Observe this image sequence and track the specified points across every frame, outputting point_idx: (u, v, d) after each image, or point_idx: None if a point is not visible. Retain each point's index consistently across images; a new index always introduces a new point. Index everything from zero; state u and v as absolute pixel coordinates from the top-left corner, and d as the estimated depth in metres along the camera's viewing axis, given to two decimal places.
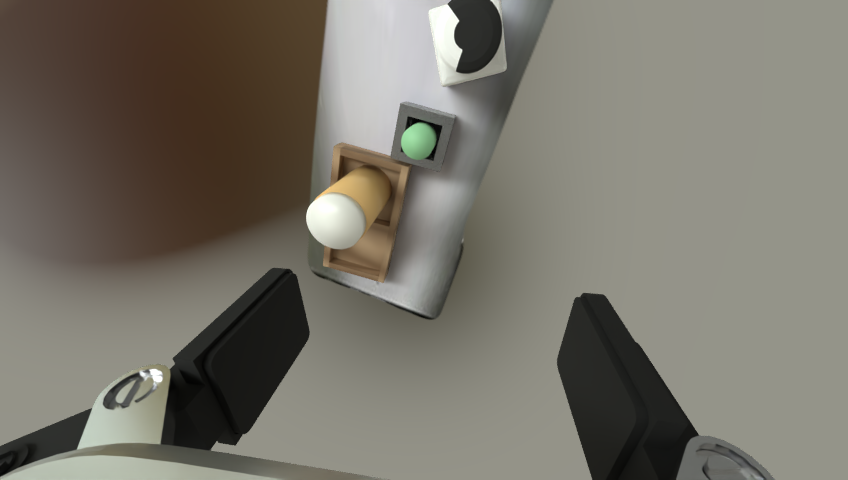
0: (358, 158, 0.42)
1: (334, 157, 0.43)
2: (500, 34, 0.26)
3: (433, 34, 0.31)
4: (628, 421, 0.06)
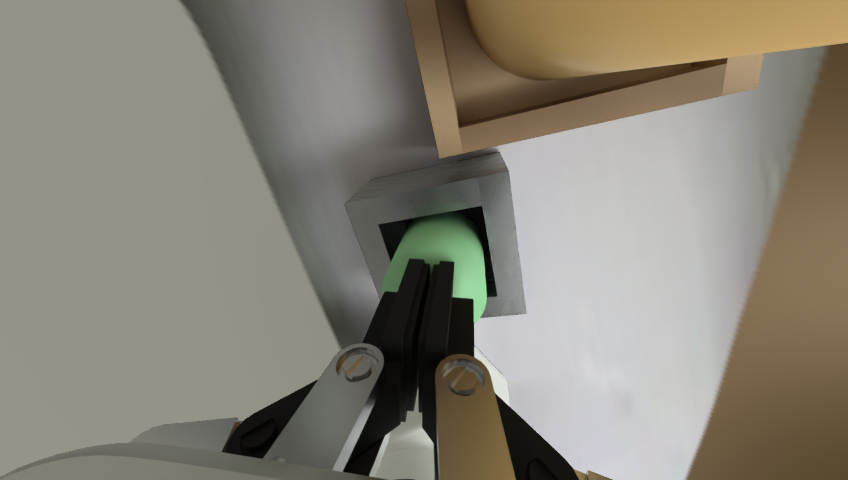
0: (634, 93, 0.11)
1: None
2: None
3: None
4: None
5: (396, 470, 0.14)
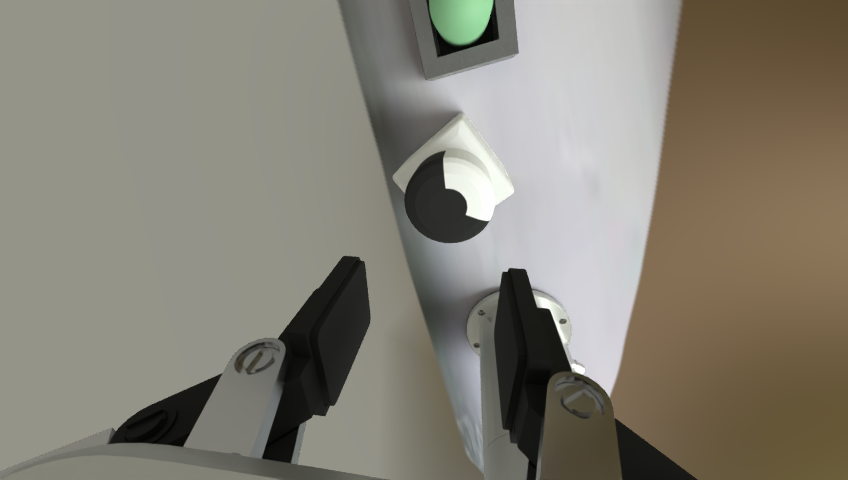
0: None
1: None
2: (411, 220, 0.21)
3: (498, 172, 0.23)
4: (515, 364, 0.07)
5: (433, 153, 0.21)
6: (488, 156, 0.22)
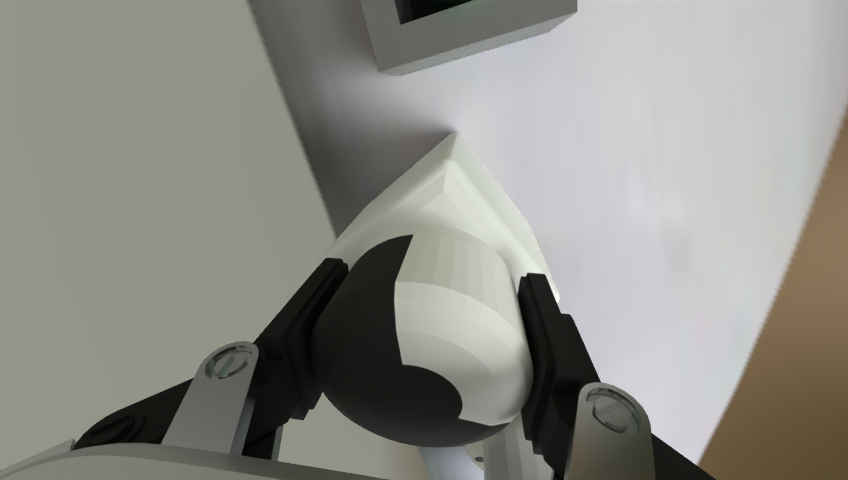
0: None
1: None
2: (330, 400, 0.09)
3: (529, 265, 0.11)
4: (541, 374, 0.07)
5: (387, 236, 0.10)
6: (509, 235, 0.10)
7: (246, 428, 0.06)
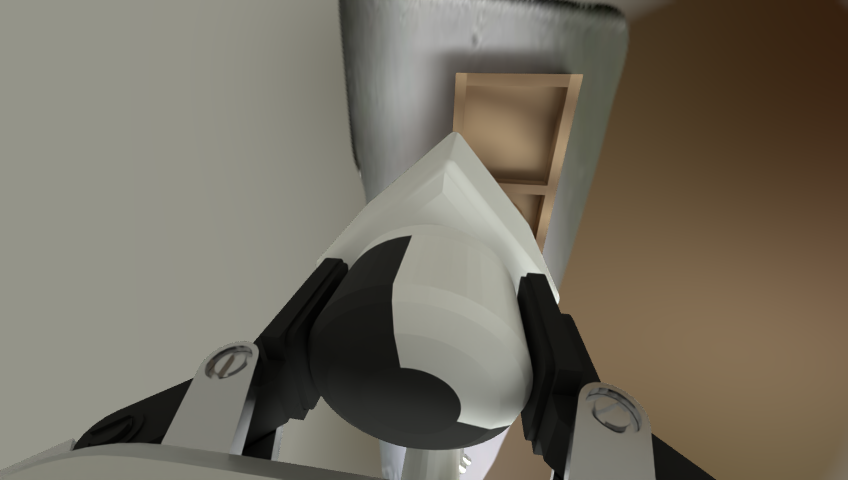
0: None
1: None
2: (328, 402, 0.09)
3: (529, 266, 0.11)
4: (541, 374, 0.07)
5: (385, 237, 0.09)
6: (508, 236, 0.10)
7: (246, 428, 0.06)
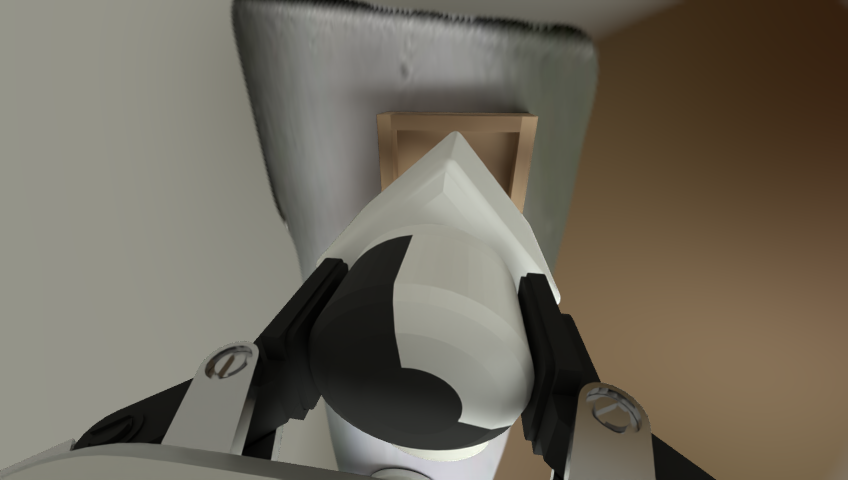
0: None
1: None
2: (329, 402, 0.09)
3: (530, 266, 0.11)
4: (541, 374, 0.07)
5: (386, 236, 0.09)
6: (509, 235, 0.10)
7: (246, 428, 0.06)
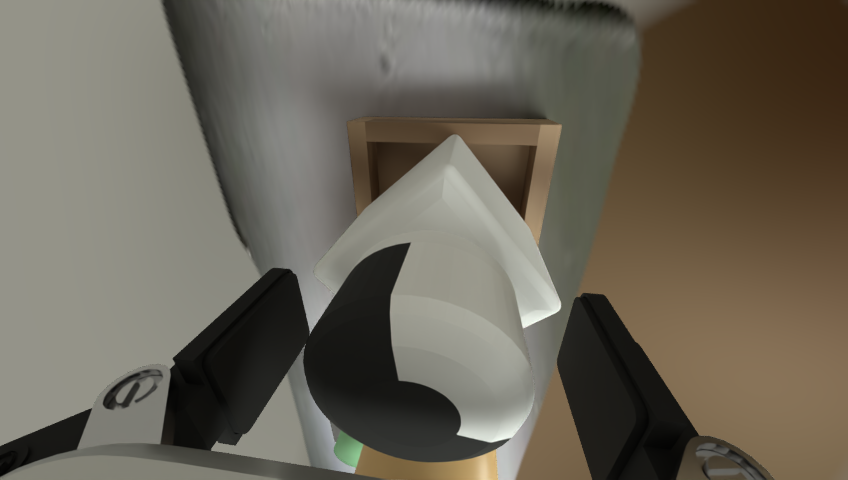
0: None
1: None
2: (325, 413, 0.09)
3: (530, 272, 0.10)
4: (628, 421, 0.06)
5: (383, 243, 0.09)
6: (509, 242, 0.10)
7: None
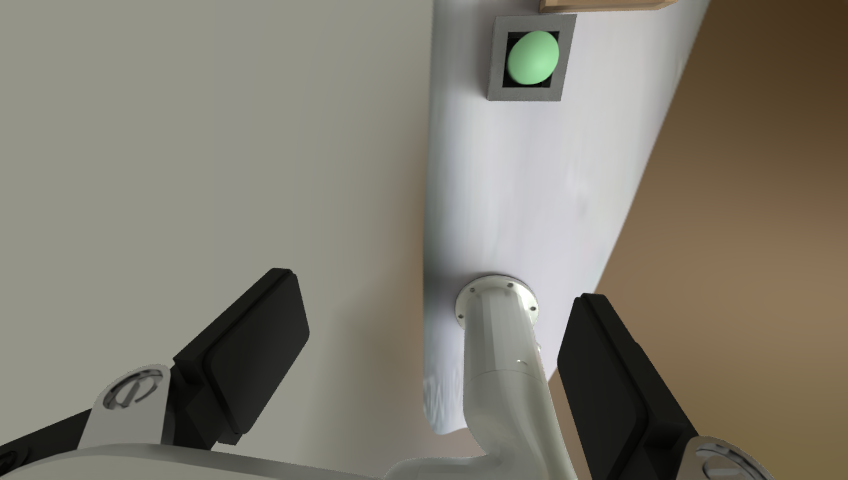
0: None
1: None
2: None
3: None
4: (628, 421, 0.06)
5: None
6: None
7: None
